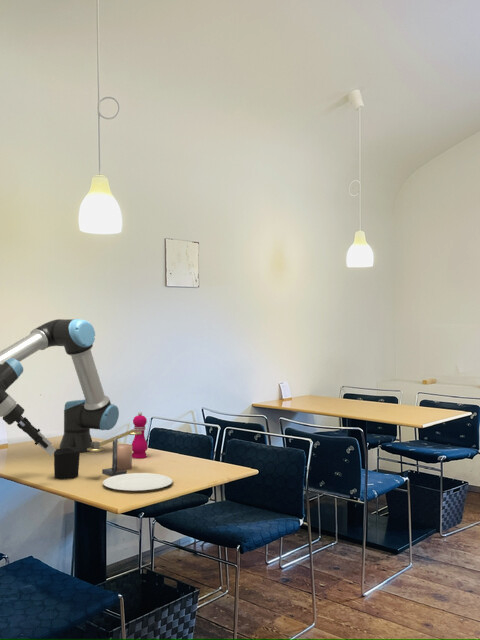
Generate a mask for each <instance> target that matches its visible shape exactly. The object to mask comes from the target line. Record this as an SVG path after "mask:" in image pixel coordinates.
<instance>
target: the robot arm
mask: <svg viewBox="0 0 480 640" xmlns="http://www.w3.org/2000/svg"><path fill="white" fill-rule="evenodd" d="M95 337H96V331H95V328H94V326H93V324H92V323H90V322H89V321H88V320H85V319H79V318H73V319H66V318H65V319H64V318H63V319H61V318H60V319H58V318H57V319H54V320H50V321H48V322H46V323H43V324H41V325H39V326H37V327H36V328H33V329H32V330H31V331H30V333H29V334H28V335H26V336H25V337H23V338H22V339H19V340H18V341H16V342H14V343H13V344H11V345H9V346H8V347H7V346H6V348H4V349H3V350H0V418H2V420H3V421H4V422H5V423H6V424H7V425H9V426H10V425H12V424H14V423H15V422H16V423H17V424H16V426H17V427H18V428H19V429H20V430H21V431H22V432H24V433H26V434H27V435H28V436H29V437H30V438H31V440H33V441H34V445H36V446H37V445H38V446H40V447H41V449H43V450H44V451H45V452H46V454H48V455H49V456H50V457H51V456H52V455H54V452H55V451H56V449H57V448H56V449H55V448H54V446H52V444H53V443H52V442H51V441H50V440H49V439H48V438H47V437H45V435H43V433H42V432H41V429H40V428H38V429H37V428H36V426H34V425H33V424H32V423H31V422H30V420H29V419H28V418H27V417H25V416H23V414H24V412H25V409H24V407H23V406H21V405H20V404H19V403H17V401H16V400H15V399H14V398H13V396H11V395H10V394H9V393H7V392H6V391H7V390H8V389H9V388H10V387H11V386H12V385H13V384H14V383H15V382H16V381H17V380H18V379H19V377H20V376H21V375H22V374H23V372H24V367H23V365H22V363H21V362H22V361H23V360H25V359H27V358H28V357H30V356H31V355H33V354H35V353H36V352H38V351H44V350H46V349H48V348H51V347H64V351H65V353H66V354H67V355H68V356H70V357H71V360H72V363H73V367H74V369H75V372H76V376H77V378H78V381H79V384H80V387H81V390H82V394H83V397H84V399H76V400H70V401H67V402H65V404H64V407H63V408H64V410H63V435H62V438H61V441H60V444H59V449H61V448H71V449H74V450H76V451H78V450H80V453H87V452H88V451H87V448H90V447H91V442H93V439H92V436H91V431H90V430H91V429H92V430H100V431H110V430H113V428H115V426H116V424H117V422H118V420H119V415H120V411H119V408H118V406H117V405H115V404H114V403H113V404H112V403H111V400H110V397H109V396H108V395H105V391H104V389H103V386H102V383H101V380H100V375H99V372H98V370H97V366H96V364H95V360H94V357H93V354H92V349H93V347H94V346H93V345H94V343H95V340H96V338H95Z"/></svg>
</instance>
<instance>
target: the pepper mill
mask: <svg viewBox="0 0 480 640" xmlns="http://www.w3.org/2000/svg"><path fill="white" fill-rule="evenodd" d="M147 423H148V421H147V418H146V416H145V415H143V413H142V412H141V411H139V412H138V413H137V415H135V416H134V417H133V420H132V424H133V425H134V427H133V429H135V431H141V432H142V434H139V435H134V438H133V440H132V442H131V445H132V459H136V460H138V459H141V460H142V459H145V458H147V452H146V451H148V447H149V445H148V443H147V439H146V437H145V430H146V425H147Z"/></svg>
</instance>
